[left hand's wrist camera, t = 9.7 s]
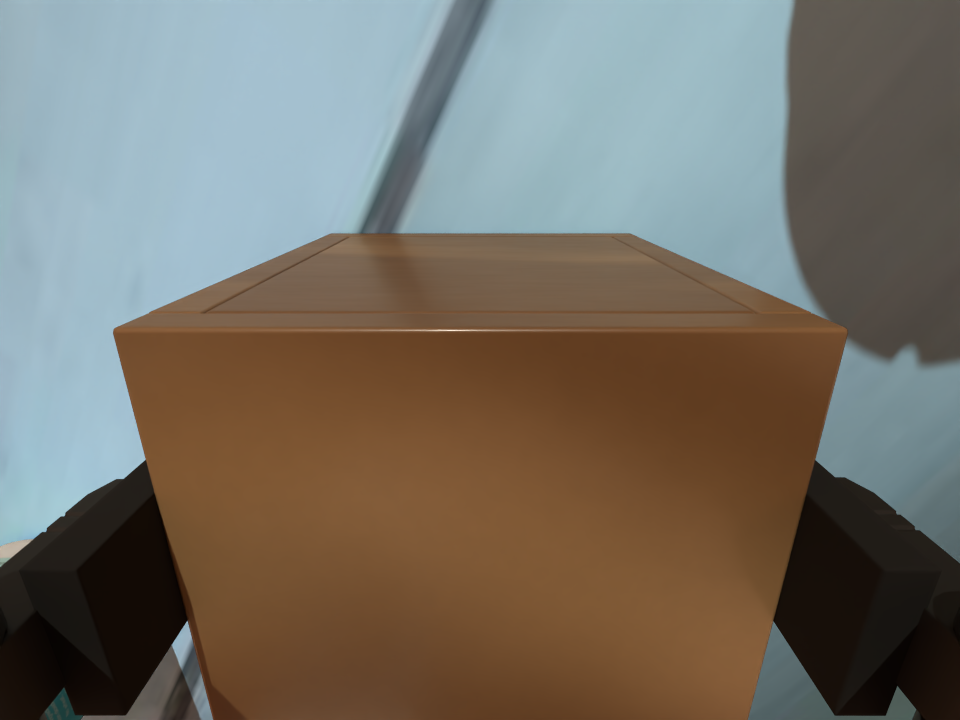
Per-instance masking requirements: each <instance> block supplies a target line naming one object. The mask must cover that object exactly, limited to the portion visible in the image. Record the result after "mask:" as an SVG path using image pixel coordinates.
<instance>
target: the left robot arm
mask: <svg viewBox="0 0 960 720" xmlns="http://www.w3.org/2000/svg"><path fill="white" fill-rule="evenodd" d="M773 621H774V622H775V624H776V625H777V627H778V629H779V630H780V632H781V633H782V635H783V636H784V638H785V639H786V641H787V642H788V644H789V646H790V647H791V649H792V650H793V652H794V653H795V655H796V656H797V658H798V659H799V661H800V662H801V664H802V666H803V667H804V669H805V670H806V672H807V673H808V675H809V676H810V678H811V679H812V681H813V683H814V684H815V686H816V687H817V689H818V690H819V692H820V693H821V695H822V696H823V698H824V699H825V701H826V703H827V704H828V706H829V707H830V709H831V710H832V712H833V713H834V715H835V716H886V713H887V711H888V708H889V706H890V703H891V700H892V698H893V695H894V693H895V690H896V688H897V686H898V687H899V688H900V689H901V691H902V692H903V693H904V694H905V696H906V697H907V698H908V699H909V701H910V702H911V703H912V704H913V706H914V707H915V708H916V709H917V710H916V712H915V714H914V717H913V719H912V720H960V563H959V562H957V561H956V560H955V559H954V558H953V557H951V556H950V555H949V554H948V553H946V552H945V551H944V550H943V549H942V548H940V547H939V546H938V545H937V544H935V543H934V542H933V541H932V540H931V539H929V538H928V537H927V536H926V535H925V534H923V533H922V532H921V531H920V530H915V526H914V525H912V524H911V523H910V522H909V521H908V520H906V519H905V518H904V517H903V516H901V515H897V514H896V511H895V510H894V509H893V508H892V507H890V506H889V505H888V504H887V503H886V502H884V501H883V500H882V499H881V498H880V497H878V496H877V495H876V494H875V493H873V492H871V491H869V490H868V489H866V488H864V487H862V486H860V485H858V484H856V483H854V482H852V481H850V480H849V479H847V478H845V477H834V476H833V475H832V474H831V473H829V472H828V471H827V470H826V469H825V468H824V467H822V466H821V465H820V464H819V463H818V462H817V461H816V460H815V462H814V466H813V470H812V474H811V478H810V481H809V485H808V489H807V493H806V497H805V501H804V505H803V508H802V512H801V516H800V520H799V524H798V528H797V531H796V535H795V539H794V543H793V547H792V551H791V555H790V558H789V562H788V566H787V570H786V574H785V578H784V582H783V585H782V589H781V593H780V597H779V601H778V605H777V609H776V612H775V616H774V620H773ZM186 622H187V616H186V612H185V608H184V605H183V601H182V597H181V593H180V589H179V585H178V581H177V578H176V574H175V570H174V566H173V562H172V558H171V554H170V551H169V547H168V543H167V539H166V535H165V531H164V527H163V524H162V520H161V516H160V512H159V508H158V504H157V500H156V497H155V493H154V489H153V485H152V481H151V477H150V473H149V470H148V466H147V462H146V460H145V461H144V462H143V463H142V464H140V465H139V466H138V467H137V468H136V469H135V470H134V471H132V472H131V473H130V474H129V475H128V476H127V477H125V478H124V479H116V480H114V481H112V482H110V483H108V484H106V485H105V486H103V487H101V488H99V489H97V490H95V491H93V492H91V493H90V494H88V495H86V496H85V497H84V498H83V499H82V500H80V501H79V502H78V503H77V504H75V505H74V506H73V507H72V508H71V509H69V510H68V511H67V512H66V513H65V516H64V517H60V518H59V519H57V520H56V521H55V522H54V523H53V524H51V525H50V526H49V527H48V528H47V531H46V532H42V533H40V534H39V535H38V536H37V537H36V538H34V539H33V540H32V541H31V542H30V543H28V544H27V545H26V546H25V547H24V548H22V549H21V550H20V551H19V552H18V553H16V554H15V555H14V556H13V557H11V558H10V559H9V560H8V561H7V562H5V563H4V564H3V565H2V566H1V567H0V720H48V719H47V717H46V714H45V711H46V709H47V708H48V707H49V706H50V704H51V703H52V702H53V701H54V699H55V698H56V697H57V696H58V694H59V693H60V692H61V691H62V689H63V688H65V691H66V693H67V696H68V698H69V701H70V704H71V706H72V709H73V711H74V714H75V715H126V714H127V713H128V711H129V710H130V708H131V707H132V705H133V703H134V702H135V700H136V699H137V697H138V696H139V694H140V693H141V691H142V690H143V688H144V686H145V685H146V683H147V682H148V680H149V679H150V677H151V676H152V674H153V673H154V671H155V670H156V668H157V666H158V665H159V663H160V662H161V660H162V659H163V657H164V656H165V654H166V653H167V651H168V649H169V648H170V646H171V645H172V643H173V642H174V640H175V639H176V637H177V636H178V634H179V633H180V631H181V629H182V628H183V626H184V625H185V623H186Z"/></svg>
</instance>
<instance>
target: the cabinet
mask: <svg viewBox="0 0 960 720" xmlns="http://www.w3.org/2000/svg"><path fill="white" fill-rule="evenodd" d="M113 335H114V338H115V342H116V346H117V350H118V354H119V358H120V362H121V365H122V369H123V373H124V377H125V381H126V385H127V389H128V392H129V396H130V400H131V404H132V408H133V412H134V416H135V419H136V423H137V427H138V431H139V435H140V439H141V443H142V446H143V450H144V454H145V458H146V462H147V466H148V470H149V473H150V477H151V481H152V485H153V489H154V493H155V497H156V500H157V504H158V508H159V512H160V516H161V520H162V524H163V527H164V531H165V535H166V539H167V543H168V547H169V551H170V554H171V558H172V562H173V566H174V570H175V574H176V578H177V581H178V585H179V589H180V593H181V597H182V601H183V605H184V608H185V612H186V616H187V620H188V624H189V628H190V632H191V635H192V639H193V643H194V647H195V651H196V655H197V659H198V662H199V666H200V670H201V674H202V678H203V682H204V686H205V689H206V693H207V697H208V701H209V705H210V709H211V713H212V717H213V720H748V716H749V713H750V709H751V705H752V701H753V697H754V693H755V689H756V686H757V682H758V678H759V674H760V670H761V666H762V663H763V659H764V655H765V651H766V647H767V643H768V639H769V636H770V632H771V628H772V624H773V620H774V616H775V612H776V609H777V605H778V601H779V597H780V593H781V589H782V585H783V582H784V578H785V574H786V570H787V566H788V562H789V558H790V555H791V551H792V547H793V543H794V539H795V535H796V531H797V528H798V524H799V520H800V516H801V512H802V508H803V505H804V501H805V497H806V493H807V489H808V485H809V481H810V478H811V474H812V470H813V466H814V462H815V458H816V454H817V451H818V447H819V443H820V439H821V435H822V431H823V427H824V424H825V420H826V416H827V412H828V408H829V404H830V400H831V397H832V393H833V389H834V385H835V381H836V377H837V374H838V370H839V366H840V362H841V358H842V354H843V350H844V347H845V343H846V339H847V335H848V330H847V329H846V328H845V327H842V326H840V325H838V324H836V323H833V322H831V321H829V320H826V319H824V318H822V317H819V316H817V315H815V314H811V312H809V311H807V310H804V309H802V308H800V307H797V306H795V305H793V304H790V303H788V302H786V301H784V300H781V299H779V298H777V297H774V296H772V295H770V294H767V293H765V292H763V291H761V290H758V289H756V288H754V287H751V286H749V285H747V284H744V283H742V282H740V281H738V280H735V279H733V278H731V277H728V276H726V275H724V274H722V273H719V272H717V271H715V270H712V269H710V268H708V267H705V266H703V265H701V264H699V263H696V262H694V261H692V260H689V259H687V258H685V257H682V256H680V255H678V254H676V253H673V252H671V251H669V250H666V249H664V248H662V247H659V246H657V245H655V244H653V243H650V242H648V241H646V240H643V239H641V238H639V237H637V236H635V235H632V234H329V235H327V236H324V237H322V238H320V239H317V240H315V241H313V242H311V243H308V244H306V245H304V246H301V247H299V248H297V249H294V250H292V251H290V252H287V253H285V254H283V255H280V256H278V257H276V258H274V259H271V260H269V261H267V262H264V263H262V264H260V265H257V266H255V267H253V268H250V269H248V270H246V271H244V272H241V273H239V274H237V275H234V276H232V277H230V278H227V279H225V280H223V281H220V282H218V283H216V284H214V285H211V286H209V287H207V288H204V289H202V290H200V291H197V292H195V293H193V294H190V295H188V296H186V297H184V298H181V299H179V300H177V301H174V302H172V303H170V304H167V305H165V306H163V307H160V308H158V309H156V310H154V311H151V312H149V314H146V315H144V316H141V317H139V318H137V319H134V320H132V321H130V322H128V323H125V324H123V325H121V326H118V327H116V328H115V329H114V331H113Z"/></svg>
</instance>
